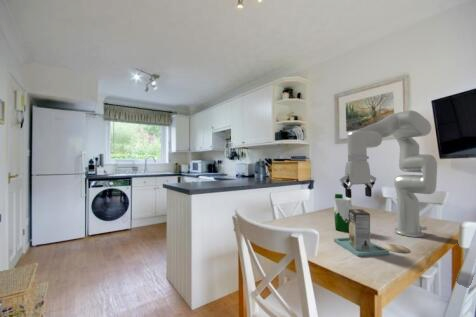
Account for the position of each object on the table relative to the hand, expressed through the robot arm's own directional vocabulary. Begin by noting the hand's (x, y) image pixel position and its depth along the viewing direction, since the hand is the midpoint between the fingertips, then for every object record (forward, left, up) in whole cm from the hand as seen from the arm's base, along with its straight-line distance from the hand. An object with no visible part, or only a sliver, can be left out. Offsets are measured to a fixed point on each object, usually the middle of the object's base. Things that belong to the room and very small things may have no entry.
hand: (358, 196), depth 101 cm
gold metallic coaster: (-16, +3, -23) cm, 28 cm away
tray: (-1, -1, -23) cm, 23 cm away
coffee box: (0, 0, -23) cm, 23 cm away
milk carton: (-10, -27, -23) cm, 37 cm away
